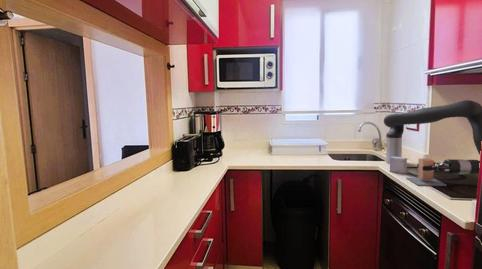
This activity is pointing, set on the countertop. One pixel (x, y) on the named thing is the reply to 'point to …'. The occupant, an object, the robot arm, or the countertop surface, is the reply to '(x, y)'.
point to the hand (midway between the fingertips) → (420, 167)
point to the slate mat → (426, 182)
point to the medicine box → (398, 164)
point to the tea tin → (425, 174)
